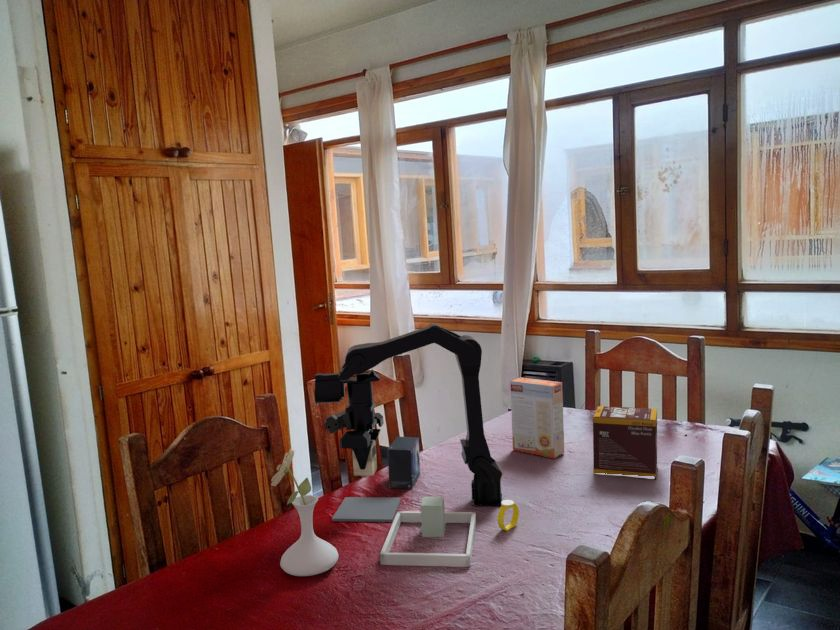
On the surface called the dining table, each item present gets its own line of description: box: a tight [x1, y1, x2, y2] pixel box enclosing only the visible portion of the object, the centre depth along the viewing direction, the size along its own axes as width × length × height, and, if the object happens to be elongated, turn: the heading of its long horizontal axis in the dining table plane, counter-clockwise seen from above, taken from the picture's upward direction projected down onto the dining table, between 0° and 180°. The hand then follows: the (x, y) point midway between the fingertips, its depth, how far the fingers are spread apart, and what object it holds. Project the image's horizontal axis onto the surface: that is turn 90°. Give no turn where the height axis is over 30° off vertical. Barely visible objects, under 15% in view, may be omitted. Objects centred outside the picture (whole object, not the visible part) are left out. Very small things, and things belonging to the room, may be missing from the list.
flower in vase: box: [270, 448, 339, 577], centre depth 125 cm, size 13×11×25 cm
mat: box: [331, 496, 402, 523], centre depth 153 cm, size 14×12×1 cm
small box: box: [387, 436, 421, 490], centre depth 169 cm, size 11×6×10 cm, turn 168°
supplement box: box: [592, 405, 658, 478], centre depth 168 cm, size 10×15×16 cm
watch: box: [497, 499, 520, 532], centre depth 139 cm, size 6×3×6 cm, turn 137°
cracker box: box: [510, 376, 565, 459], centre depth 184 cm, size 14×6×21 cm, turn 47°
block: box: [420, 496, 446, 538], centre depth 139 cm, size 4×4×7 cm
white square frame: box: [379, 510, 477, 568], centre depth 135 cm, size 18×20×2 cm
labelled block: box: [351, 440, 378, 477], centre depth 151 cm, size 4×5×7 cm
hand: (365, 465), depth 151 cm, fingers closed on labelled block, 4 cm apart
